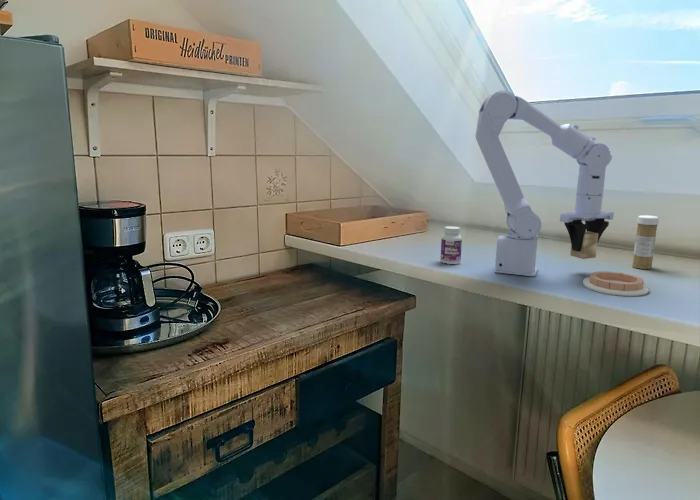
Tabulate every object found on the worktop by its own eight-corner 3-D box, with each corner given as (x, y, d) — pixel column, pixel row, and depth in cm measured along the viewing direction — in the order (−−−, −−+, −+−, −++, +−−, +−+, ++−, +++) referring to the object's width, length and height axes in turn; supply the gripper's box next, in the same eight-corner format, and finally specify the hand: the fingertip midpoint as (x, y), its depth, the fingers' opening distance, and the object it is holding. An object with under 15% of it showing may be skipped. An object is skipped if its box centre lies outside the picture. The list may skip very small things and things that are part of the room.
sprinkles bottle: (638, 264, 130) (644, 214, 127) (655, 268, 126) (662, 216, 123) (627, 266, 128) (634, 215, 125) (645, 270, 124) (652, 217, 121)
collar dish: (582, 291, 107) (583, 281, 106) (583, 276, 118) (584, 267, 118) (651, 299, 101) (653, 288, 101) (645, 283, 113) (647, 273, 112)
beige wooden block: (582, 258, 118) (585, 234, 117) (570, 255, 122) (572, 231, 120) (595, 257, 119) (598, 233, 118) (583, 254, 123) (585, 230, 122)
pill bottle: (444, 265, 129) (445, 229, 127) (437, 260, 134) (439, 226, 132) (463, 264, 130) (465, 228, 128) (456, 260, 135) (458, 225, 133)
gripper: (578, 197, 111) (572, 255, 114) (626, 195, 116) (619, 251, 119) (555, 194, 118) (550, 249, 121) (602, 192, 122) (596, 245, 125)
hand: (583, 249), depth 120 cm, fingers closed on beige wooden block, 4 cm apart
